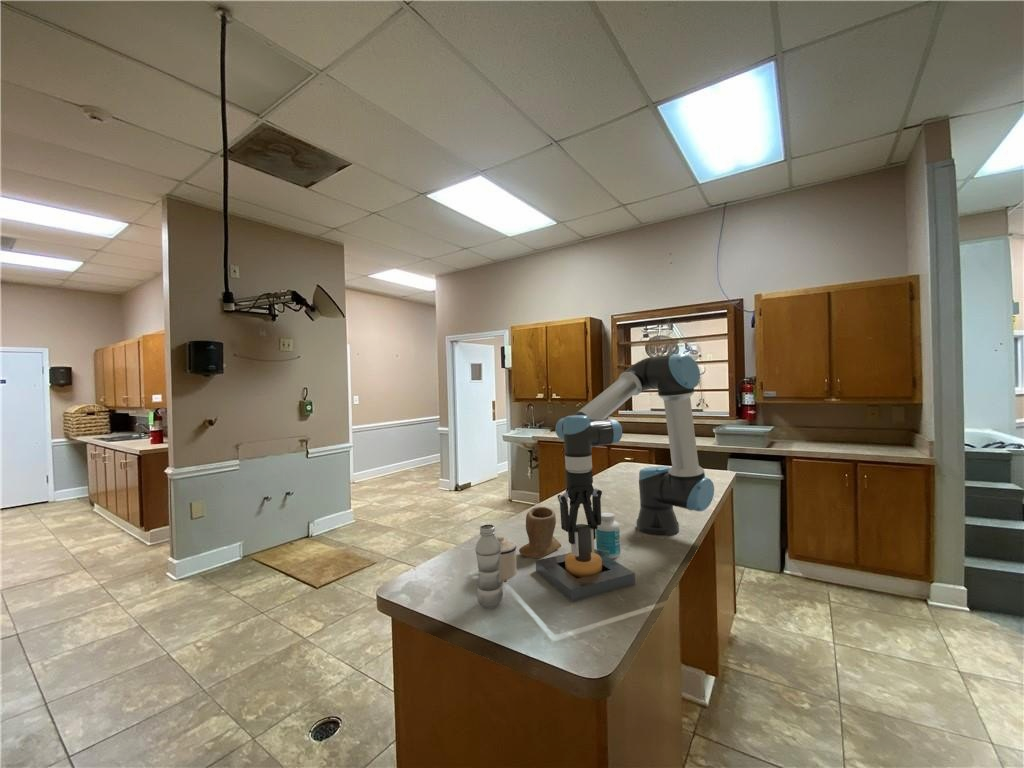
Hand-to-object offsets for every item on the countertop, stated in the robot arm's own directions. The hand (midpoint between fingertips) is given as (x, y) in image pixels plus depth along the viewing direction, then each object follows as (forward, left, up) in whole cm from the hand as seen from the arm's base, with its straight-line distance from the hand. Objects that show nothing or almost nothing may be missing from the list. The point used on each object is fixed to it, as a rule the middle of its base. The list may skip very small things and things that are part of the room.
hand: (582, 552), depth 116 cm
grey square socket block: (0, 0, -8) cm, 8 cm away
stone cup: (+1, -23, -8) cm, 25 cm away
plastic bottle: (+28, 0, -8) cm, 29 cm away
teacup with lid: (+20, -15, -8) cm, 27 cm away
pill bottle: (-16, -10, -8) cm, 20 cm away
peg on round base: (0, 0, -5) cm, 5 cm away
